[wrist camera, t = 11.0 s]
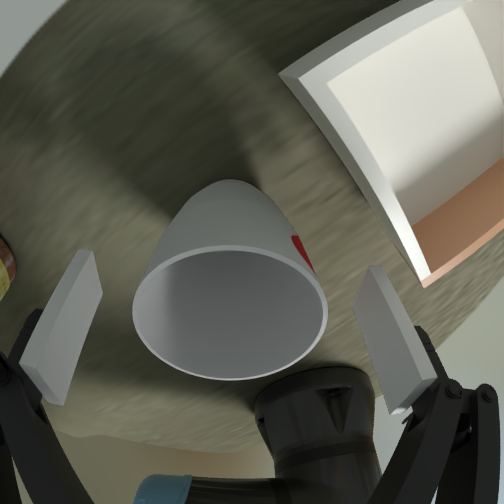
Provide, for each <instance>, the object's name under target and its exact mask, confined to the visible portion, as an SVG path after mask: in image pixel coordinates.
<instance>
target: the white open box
mask: <svg viewBox="0 0 504 504" xmlns="http://www.w3.org/2000/svg"><path fill="white" fill-rule="evenodd" d="M278 75H279V77H280V78H281V79H282V80H283V81H284V83H285V84H286V85H287V86H288V88H289V89H290V90H291V92H292V93H293V94H294V96H295V97H296V98H297V99H298V100H299V102H300V103H301V104H302V106H303V107H304V108H305V110H306V111H307V112H308V114H309V115H310V116H311V118H312V119H313V120H314V122H315V123H316V124H317V126H318V127H319V129H320V130H321V131H322V133H323V134H324V136H325V137H326V138H327V140H328V141H329V143H330V144H331V146H332V147H333V148H334V150H335V151H336V153H337V154H338V156H339V157H340V159H341V160H342V162H343V163H344V165H345V166H346V168H347V169H348V171H349V172H350V174H351V176H352V177H353V179H354V180H355V182H356V183H357V185H358V187H359V188H360V190H361V191H362V193H363V195H364V196H365V198H366V200H367V202H368V203H369V205H370V206H371V208H372V210H373V211H374V213H375V215H376V216H377V218H378V220H379V222H380V223H381V225H382V227H383V229H384V230H385V232H386V234H387V236H388V238H389V239H390V240H391V242H392V243H393V244H394V246H395V247H396V249H397V250H398V251H399V253H400V254H401V256H402V257H403V258H404V260H405V261H406V263H407V264H408V266H409V267H410V269H411V270H412V271H413V273H414V274H415V276H416V277H417V279H418V280H419V282H420V283H421V285H422V286H423V288H425V287H427V286H428V285H430V284H431V283H433V282H434V281H435V280H437V279H438V278H440V277H441V276H442V275H444V274H445V273H447V272H448V271H449V270H451V269H452V268H454V267H455V266H456V265H458V264H459V263H460V262H462V261H463V260H464V259H466V258H467V257H468V256H470V255H471V254H472V253H473V252H475V251H476V250H477V249H478V248H480V247H481V246H482V245H484V244H485V243H486V242H487V241H488V240H490V239H491V238H492V237H493V236H495V235H496V234H497V233H498V232H499V231H501V230H502V229H503V228H504V0H401V1H399V2H397V3H395V4H393V5H391V6H389V7H387V8H385V9H383V10H381V11H379V12H377V13H375V14H373V15H371V16H370V17H368V18H366V19H364V20H362V21H360V22H359V23H357V24H355V25H353V26H352V27H350V28H348V29H346V30H345V31H343V32H341V33H340V34H338V35H336V36H335V37H333V38H331V39H330V40H328V41H326V42H325V43H323V44H322V45H320V46H318V47H317V48H315V49H314V50H312V51H311V52H309V53H307V54H306V55H304V56H303V57H301V58H300V59H298V60H297V61H295V62H294V63H292V64H291V65H289V66H288V67H287V68H285V69H284V70H282V71H281V72H279V73H278Z"/></svg>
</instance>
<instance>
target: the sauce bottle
mask: <svg viewBox="0 0 504 504" xmlns="http://www.w3.org/2000/svg"><path fill="white" fill-rule="evenodd" d="M15 273H16V264H15V258H14V256H13V255H12V252H11V251H10V249H9V248H8V246H7V245H6V243H5V242H4V241H3V239H2V238H0V301H1V300H2V298H3V296H4V295H5V293H6V292H7V290H8V288H9V285H10V284H11V283H12V281H13V279H14V277H15Z"/></svg>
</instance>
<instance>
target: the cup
mask: <svg viewBox="0 0 504 504" xmlns="http://www.w3.org/2000/svg"><path fill="white" fill-rule="evenodd" d="M132 315H133V322H134V325H135V328H136V331H137V333H138V335H139V337H140V338H141V340H142V341H143V343H144V344H145V345H146V347H147V348H148V349H149V350H150V351H151V352H152V353H153V354H154V355H156V356H157V357H158V358H159V359H161V360H162V361H164V362H165V363H167V364H168V365H170V366H172V367H174V368H176V369H178V370H180V371H183V372H185V373H188V374H191V375H195V376H198V377H203V378H208V379H215V380H246V379H253V378H258V377H263V376H266V375H270V374H273V373H276V372H278V371H281V370H283V369H285V368H287V367H289V366H291V365H293V364H294V363H296V362H297V361H299V360H300V359H302V358H303V357H304V356H305V355H307V354H308V353H309V352H310V351H311V350H312V349H313V348H314V346H315V345H316V344H317V343H318V341H319V340H320V338H321V336H322V334H323V332H324V330H325V327H326V323H327V318H328V307H327V301H326V298H325V295H324V292H323V290H322V288H321V285H320V283H319V281H318V279H317V276H316V274H315V272H314V269H313V267H312V265H311V263H310V260H309V258H308V256H307V254H306V252H305V249H304V247H303V245H302V243H301V241H300V238H299V236H298V235H297V233H296V231H295V230H294V228H293V227H292V226H291V224H290V223H289V221H288V220H287V219H286V217H285V216H284V215H283V213H282V212H281V210H280V209H279V208H278V206H277V205H276V204H275V202H274V201H273V200H272V199H271V198H270V197H269V196H267V195H266V194H265V193H263V192H262V191H260V190H259V189H257V188H256V187H254V186H252V185H251V184H249V183H247V182H244V181H240V180H234V179H227V180H221V181H217V182H215V183H212V184H210V185H209V186H207V187H205V188H204V189H202V190H200V191H199V192H197V193H196V194H194V195H193V196H192V197H191V198H190V199H189V200H188V201H187V202H186V203H185V204H184V206H183V207H182V208H181V210H180V211H179V212H178V214H177V215H176V216H175V218H174V219H173V220H172V222H171V223H170V224H169V226H168V227H167V228H166V230H165V231H164V233H163V234H162V236H161V238H160V240H159V243H158V245H157V247H156V249H155V251H154V253H153V255H152V258H151V260H150V262H149V264H148V266H147V269H146V271H145V273H144V275H143V278H142V280H141V282H140V284H139V287H138V289H137V291H136V294H135V297H134V300H133V307H132Z"/></svg>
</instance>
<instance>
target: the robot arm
mask: <svg viewBox="0 0 504 504" xmlns="http://www.w3.org/2000/svg"><path fill="white" fill-rule="evenodd" d="M102 295H103V292H102V288H101V284H100V280H99V276H98V272H97V267H96V263H95V259H94V254H93V250H85V249H79V250H78V251H77V253H76V254H75V256H74V258H73V259H72V261H71V263H70V264H69V266H68V268H67V269H66V271H65V273H64V274H63V276H62V278H61V280H60V281H59V283H58V285H57V287H56V288H55V290H54V292H53V294H52V296H51V298H50V299H49V301H48V303H47V305H46V307H45V309H44V310H42V309H35V310H34V311H33V312H32V313H31V314H30V315H29V316H28V318H27V320H26V322H25V324H24V326H23V328H22V330H21V332H20V335H19V336H18V338H17V340H16V342H15V344H14V346H13V348H12V350H11V352H10V355H9V357H8V359H7V358H6V356H5V355H4V354H3V353H2V352H1V351H0V504H22V501H21V498H20V494H19V490H18V486H17V481H16V477H15V472H14V467H13V461H12V457H13V460H14V462H15V465H16V467H17V469H18V472H19V474H20V477H21V479H22V481H23V483H24V485H25V488H26V490H27V492H28V494H29V496H30V498H31V500H32V502H33V503H34V504H94V502H93V501H92V499H91V498H90V496H89V495H88V493H87V491H86V490H85V488H84V487H83V485H82V483H81V482H80V480H79V478H78V476H77V475H76V473H75V471H74V470H73V468H72V466H71V464H70V463H69V460H68V459H67V457H66V455H65V453H64V451H63V449H62V447H61V445H60V443H59V441H58V439H57V437H56V435H55V433H54V431H53V428H52V426H51V424H50V422H49V419H48V417H47V415H46V412H45V410H44V408H43V405H42V404H41V399H42V395H43V397H44V398H45V399H46V400H47V402H49V403H53V404H56V405H60V406H64V403H65V400H66V397H67V393H68V390H69V386H70V383H71V380H72V377H73V374H74V371H75V368H76V365H77V362H78V359H79V356H80V353H81V350H82V347H83V344H84V341H85V339H86V336H87V333H88V331H89V328H90V325H91V323H92V320H93V317H94V315H95V312H96V310H97V307H98V305H99V302H100V300H101V297H102ZM352 308H353V311H354V313H355V316H356V319H357V321H358V324H359V327H360V329H361V332H362V335H363V337H364V340H365V343H366V346H367V348H368V351H369V354H370V357H371V360H372V363H373V365H374V368H375V371H376V374H377V377H378V380H379V383H380V386H381V389H382V392H383V395H384V398H385V401H386V405H387V408H388V411H389V414H390V415H393V414H398V413H403V412H405V411H406V410H407V409H408V408H409V407H410V406H412V409H413V412H412V413H411V414H410V415H409V416H408V417H407V418H405V419H404V421H403V422H402V424H404V423H405V422H407V424H406V426H405V429H404V431H403V433H402V436H401V438H400V440H399V442H398V445H397V447H396V449H395V451H394V453H393V456H392V457H391V460H390V462H389V464H388V466H387V468H386V470H385V471H384V473H383V475H382V473H381V469H380V465H379V461H378V457H377V454H376V450H375V447H374V442H373V427H374V412H375V393H374V390H373V386H372V383H371V380H370V378H369V377H368V376H367V375H366V374H365V373H363V372H361V371H359V370H356V369H352V368H343V367H332V368H322V369H315V370H310V371H306V372H302V373H298V374H295V375H292V376H289V377H286V378H284V379H282V380H279V381H277V382H275V383H274V384H272V385H270V386H269V387H267V388H266V389H264V390H263V391H262V392H261V393H260V394H259V395H258V396H257V398H256V400H255V402H254V412H255V421H256V425H257V427H258V429H259V431H260V433H261V435H262V437H263V440H264V442H265V444H266V446H267V448H268V450H269V452H270V454H271V456H272V458H273V460H274V468H275V478H259V479H258V478H257V479H234V478H208V477H207V478H206V477H193V476H192V475H184V476H177V475H163V474H154V475H150V476H148V477H146V478H145V479H144V480H143V481H142V482H141V484H140V486H139V488H138V490H137V493H136V496H135V498H134V502H133V504H431V502H432V499H433V497H434V494H435V492H436V490H437V495H436V501H435V504H497V502H498V492H499V479H500V477H499V476H500V420H499V405H498V396H497V393H496V391H495V390H494V388H493V387H492V386H491V385H489V384H481V385H480V386H479V387H478V388H477V389H476V390H472V389H464V388H462V386H461V385H460V384H459V383H458V382H457V381H456V380H453V379H449V378H448V376H447V374H446V372H445V369H444V367H443V366H442V363H441V361H440V359H439V357H438V355H437V353H436V352H435V348H434V346H433V345H432V344H431V343H432V342H431V340H430V338H429V336H428V334H427V333H426V332H425V331H424V330H423V329H422V328H421V327H420V326H413V324H412V322H411V320H410V318H409V316H408V314H407V312H406V310H405V308H404V306H403V305H402V303H401V301H400V299H399V297H398V295H397V293H396V292H395V290H394V288H393V286H392V284H391V282H390V281H389V279H388V277H387V275H386V273H385V272H384V270H383V268H382V267H380V266H368V268H367V271H366V273H365V276H364V278H363V281H362V283H361V286H360V288H359V291H358V293H357V295H356V298H355V300H354V302H353V305H352ZM11 455H12V456H11ZM437 487H438V489H437Z"/></svg>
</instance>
